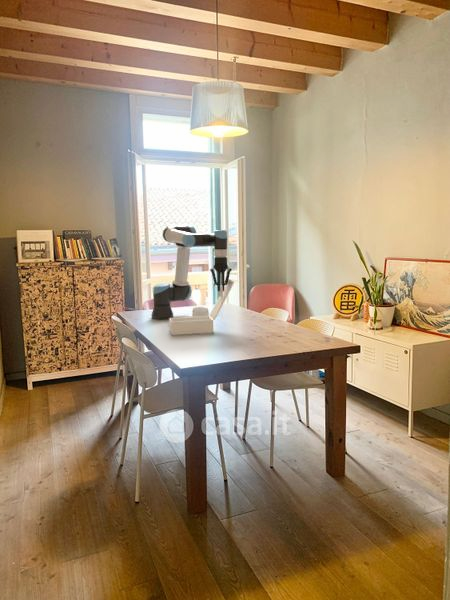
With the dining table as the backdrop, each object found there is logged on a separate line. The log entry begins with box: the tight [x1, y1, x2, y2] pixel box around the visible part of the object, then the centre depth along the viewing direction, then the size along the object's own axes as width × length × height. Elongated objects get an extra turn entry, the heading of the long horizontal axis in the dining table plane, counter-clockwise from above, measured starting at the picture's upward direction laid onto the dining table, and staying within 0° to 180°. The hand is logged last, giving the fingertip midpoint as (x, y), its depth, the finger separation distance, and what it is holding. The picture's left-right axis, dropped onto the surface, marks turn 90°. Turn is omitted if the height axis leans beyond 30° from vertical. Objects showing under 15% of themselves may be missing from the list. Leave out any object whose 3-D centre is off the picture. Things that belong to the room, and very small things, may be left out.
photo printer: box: [191, 306, 210, 317], centre depth 277 cm, size 10×4×12 cm, turn 85°
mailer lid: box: [209, 279, 235, 321], centre depth 263 cm, size 13×25×2 cm
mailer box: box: [168, 316, 214, 337], centre depth 261 cm, size 13×24×8 cm, turn 104°
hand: (221, 296), depth 263 cm, fingers closed
